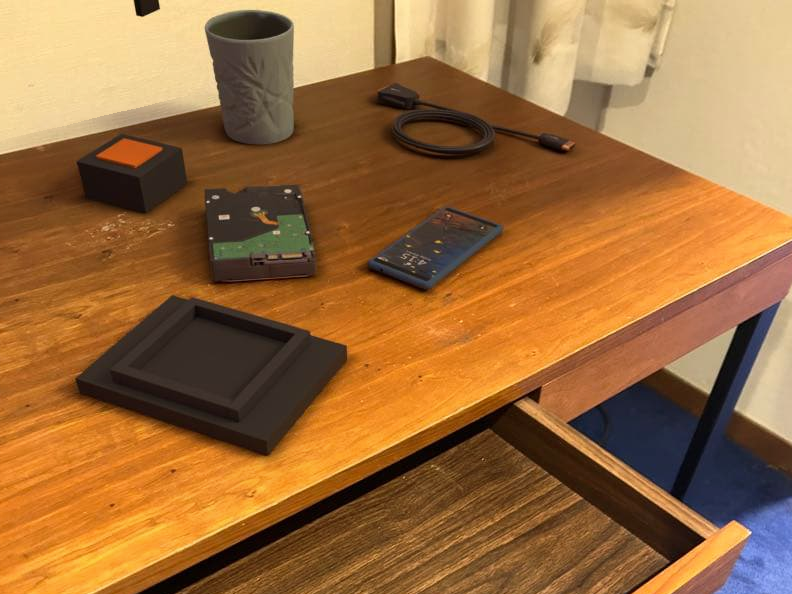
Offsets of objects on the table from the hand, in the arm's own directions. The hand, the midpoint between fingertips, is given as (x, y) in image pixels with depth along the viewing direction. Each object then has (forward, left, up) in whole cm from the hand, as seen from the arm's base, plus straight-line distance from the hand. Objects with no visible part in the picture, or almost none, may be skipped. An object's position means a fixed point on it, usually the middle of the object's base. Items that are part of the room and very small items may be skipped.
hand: (91, 1), depth 84 cm
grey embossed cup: (+6, +18, -18) cm, 27 cm away
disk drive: (+20, -6, -18) cm, 28 cm away
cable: (+28, +28, -18) cm, 44 cm away
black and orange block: (+2, -2, -18) cm, 18 cm away
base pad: (+28, -27, -18) cm, 43 cm away
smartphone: (+37, +1, -18) cm, 41 cm away
